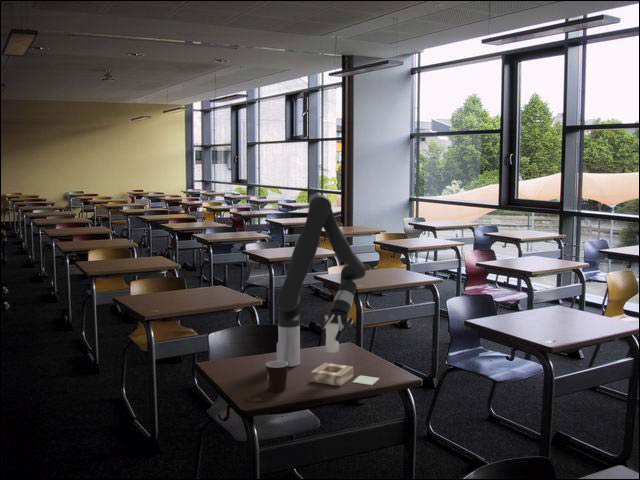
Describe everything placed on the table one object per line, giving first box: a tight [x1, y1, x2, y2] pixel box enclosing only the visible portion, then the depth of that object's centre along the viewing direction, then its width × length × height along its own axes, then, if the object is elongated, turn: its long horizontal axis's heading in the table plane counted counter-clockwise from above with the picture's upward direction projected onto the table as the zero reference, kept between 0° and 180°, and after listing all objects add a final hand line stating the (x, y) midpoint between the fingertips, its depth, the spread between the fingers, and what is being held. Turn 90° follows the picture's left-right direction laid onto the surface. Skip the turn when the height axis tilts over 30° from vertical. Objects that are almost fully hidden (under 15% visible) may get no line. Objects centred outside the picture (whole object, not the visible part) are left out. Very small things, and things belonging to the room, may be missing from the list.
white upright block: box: [325, 322, 340, 354], centre depth 256 cm, size 5×7×11 cm
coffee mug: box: [265, 360, 289, 393], centre depth 248 cm, size 12×9×10 cm
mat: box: [351, 375, 380, 386], centre depth 256 cm, size 8×8×1 cm
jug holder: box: [310, 362, 354, 387], centre depth 258 cm, size 13×13×4 cm
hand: (330, 339), depth 255 cm, fingers closed on white upright block, 5 cm apart
